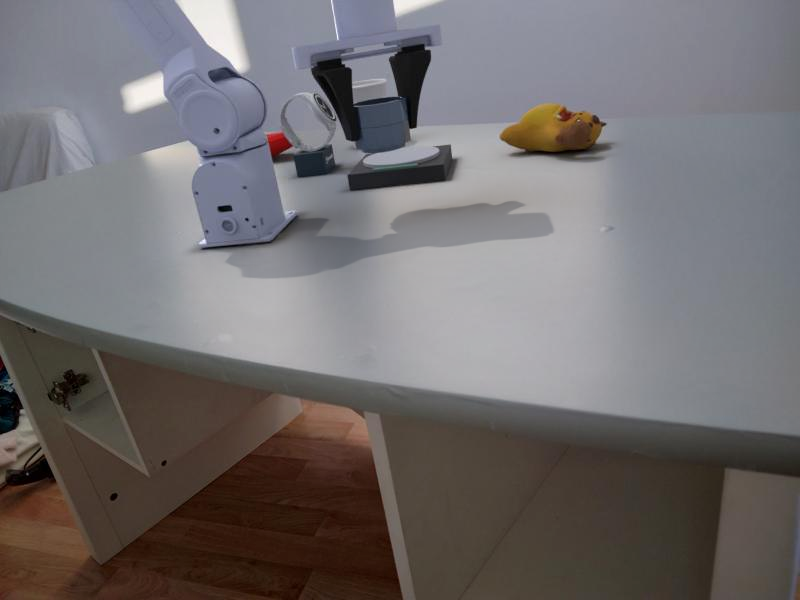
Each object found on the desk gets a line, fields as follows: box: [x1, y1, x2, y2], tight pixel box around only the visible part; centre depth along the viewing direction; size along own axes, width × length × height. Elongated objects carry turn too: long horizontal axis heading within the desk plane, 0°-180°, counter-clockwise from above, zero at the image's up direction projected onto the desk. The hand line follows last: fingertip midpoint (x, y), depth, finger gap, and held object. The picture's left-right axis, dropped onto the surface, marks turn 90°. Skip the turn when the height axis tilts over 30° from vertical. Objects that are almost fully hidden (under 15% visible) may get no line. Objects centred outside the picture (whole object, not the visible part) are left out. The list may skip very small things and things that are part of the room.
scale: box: [346, 143, 453, 191], centre depth 84 cm, size 12×12×2 cm
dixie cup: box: [352, 78, 388, 150], centre depth 106 cm, size 8×8×10 cm
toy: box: [499, 102, 608, 153], centre depth 83 cm, size 11×6×15 cm
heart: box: [265, 131, 294, 159], centre depth 109 cm, size 12×4×10 cm
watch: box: [278, 91, 338, 178], centre depth 92 cm, size 6×8×11 cm
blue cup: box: [354, 95, 412, 154], centre depth 64 cm, size 6×6×5 cm
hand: (382, 133), depth 64 cm, fingers closed on blue cup, 6 cm apart
